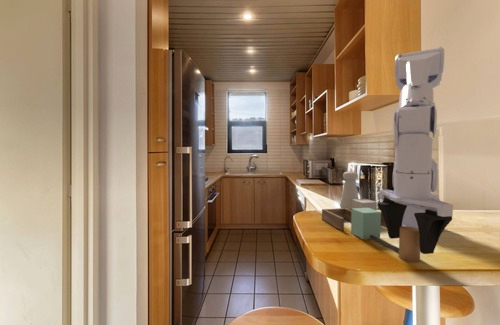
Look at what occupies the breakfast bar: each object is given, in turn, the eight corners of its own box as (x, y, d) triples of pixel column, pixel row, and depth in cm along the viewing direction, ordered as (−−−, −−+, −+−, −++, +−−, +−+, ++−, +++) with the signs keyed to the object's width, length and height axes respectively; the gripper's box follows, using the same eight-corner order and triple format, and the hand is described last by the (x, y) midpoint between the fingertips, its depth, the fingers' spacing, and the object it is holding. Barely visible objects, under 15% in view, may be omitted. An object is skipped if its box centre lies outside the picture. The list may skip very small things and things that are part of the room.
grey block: (365, 219, 76) (366, 198, 75) (376, 223, 71) (376, 202, 71) (351, 220, 75) (352, 199, 75) (361, 224, 70) (361, 202, 70)
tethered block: (367, 231, 65) (368, 207, 64) (427, 260, 48) (428, 228, 48) (351, 233, 64) (351, 208, 63) (406, 262, 47) (407, 230, 47)
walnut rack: (365, 217, 78) (365, 207, 78) (389, 227, 68) (390, 215, 68) (321, 219, 75) (322, 209, 75) (340, 230, 66) (341, 218, 65)
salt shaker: (361, 216, 79) (362, 173, 79) (341, 215, 80) (342, 172, 80) (357, 211, 85) (358, 171, 84) (338, 210, 86) (339, 170, 85)
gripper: (367, 169, 55) (365, 233, 56) (428, 177, 41) (424, 263, 41) (397, 168, 56) (394, 231, 57) (465, 176, 42) (461, 259, 43)
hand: (409, 244), depth 49 cm, fingers open, 7 cm apart
